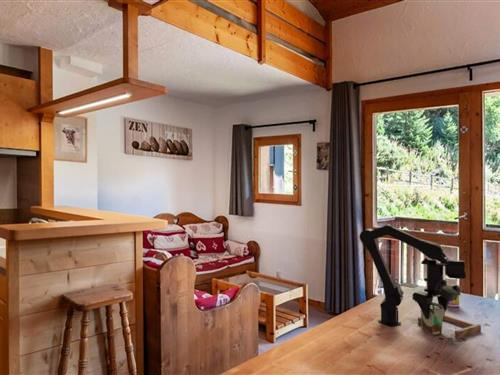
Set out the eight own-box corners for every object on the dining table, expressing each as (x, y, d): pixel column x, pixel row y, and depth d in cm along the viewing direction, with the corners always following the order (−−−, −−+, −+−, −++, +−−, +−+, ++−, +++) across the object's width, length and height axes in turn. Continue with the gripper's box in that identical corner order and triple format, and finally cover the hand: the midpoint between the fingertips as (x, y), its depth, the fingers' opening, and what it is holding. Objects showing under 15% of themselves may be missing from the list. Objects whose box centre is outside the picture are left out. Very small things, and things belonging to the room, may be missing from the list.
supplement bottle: (439, 304, 175) (439, 276, 175) (449, 302, 178) (449, 275, 178) (452, 308, 169) (452, 280, 169) (462, 306, 172) (462, 278, 172)
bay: (457, 338, 135) (457, 331, 135) (417, 323, 150) (417, 317, 150) (480, 331, 142) (480, 325, 142) (440, 317, 157) (440, 312, 157)
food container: (451, 337, 136) (451, 310, 136) (434, 337, 136) (434, 310, 136) (435, 325, 148) (435, 300, 148) (420, 325, 148) (419, 300, 148)
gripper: (438, 284, 131) (438, 328, 131) (470, 278, 139) (470, 319, 139) (411, 277, 141) (411, 318, 141) (443, 272, 149) (443, 310, 149)
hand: (435, 316), depth 142 cm, fingers open, 9 cm apart
